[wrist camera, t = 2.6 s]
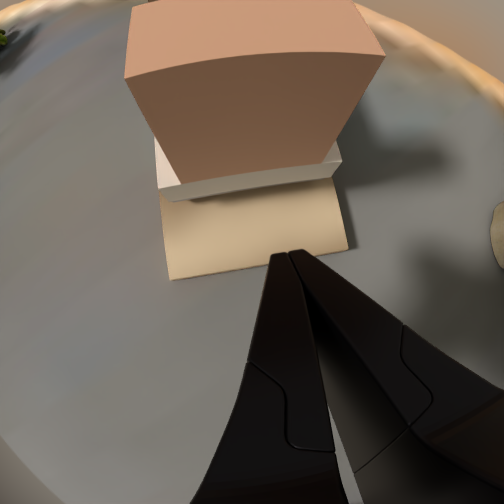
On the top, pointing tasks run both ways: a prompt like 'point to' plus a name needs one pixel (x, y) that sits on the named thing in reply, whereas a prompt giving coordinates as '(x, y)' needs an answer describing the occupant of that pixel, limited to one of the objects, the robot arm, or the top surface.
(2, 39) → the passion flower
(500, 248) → the flower pot
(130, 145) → the top surface
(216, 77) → the brown piece
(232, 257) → the tan cardboard slab
